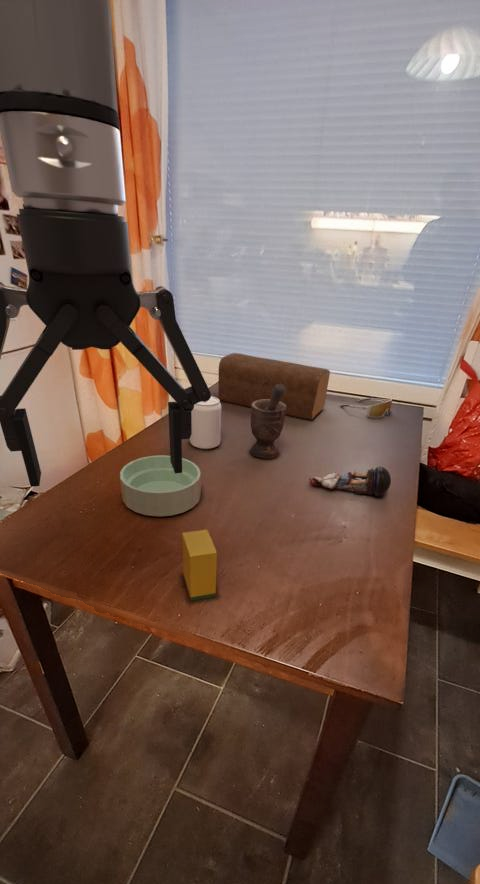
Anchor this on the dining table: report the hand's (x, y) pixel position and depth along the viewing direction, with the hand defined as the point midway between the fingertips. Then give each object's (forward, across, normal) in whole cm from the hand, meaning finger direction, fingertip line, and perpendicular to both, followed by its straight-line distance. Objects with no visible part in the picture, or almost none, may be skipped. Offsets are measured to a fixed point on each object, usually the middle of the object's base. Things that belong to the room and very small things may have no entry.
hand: (109, 473), depth 42 cm
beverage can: (+27, +26, +63) cm, 73 cm away
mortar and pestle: (+27, +40, +53) cm, 71 cm away
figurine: (+27, +52, +33) cm, 67 cm away
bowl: (+27, +10, +38) cm, 48 cm away
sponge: (+27, +11, +9) cm, 31 cm away
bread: (+27, +55, +90) cm, 109 cm away
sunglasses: (+27, +86, +80) cm, 121 cm away
